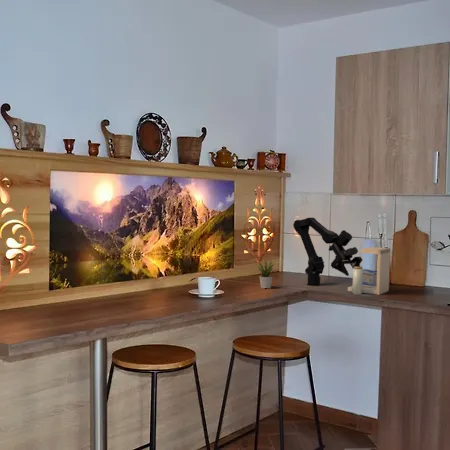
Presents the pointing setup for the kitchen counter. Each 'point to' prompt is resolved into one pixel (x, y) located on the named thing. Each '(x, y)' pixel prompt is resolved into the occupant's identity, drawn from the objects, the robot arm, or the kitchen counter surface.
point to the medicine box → (369, 277)
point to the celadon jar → (357, 280)
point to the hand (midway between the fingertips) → (354, 274)
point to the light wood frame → (378, 271)
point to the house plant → (266, 274)
